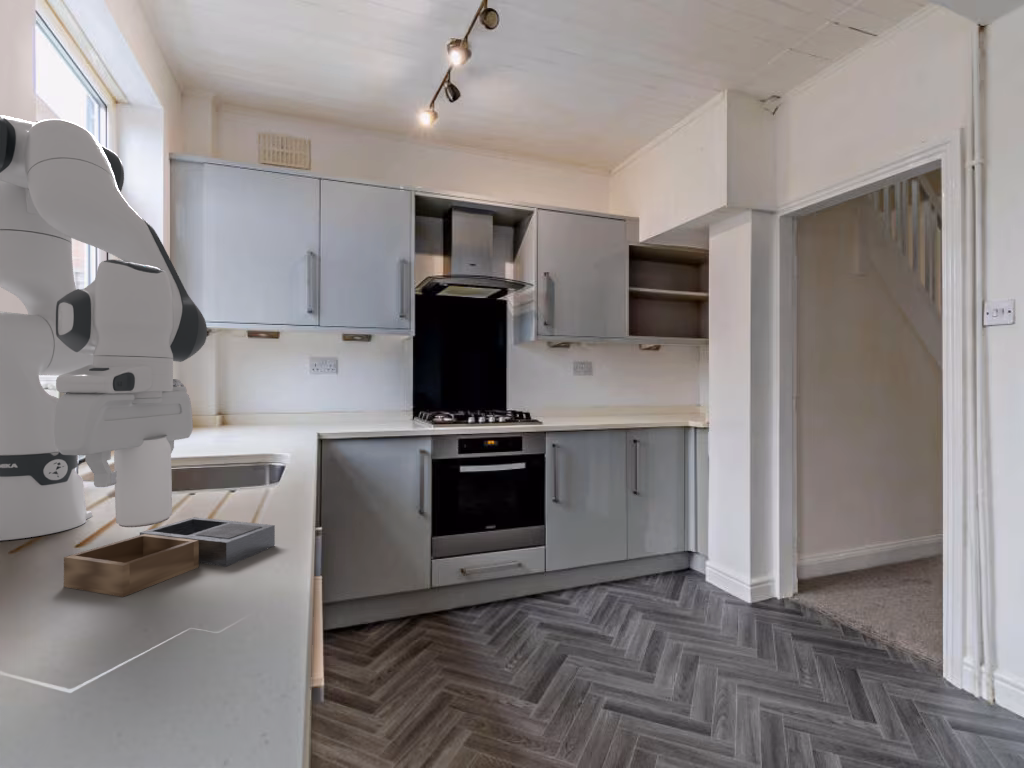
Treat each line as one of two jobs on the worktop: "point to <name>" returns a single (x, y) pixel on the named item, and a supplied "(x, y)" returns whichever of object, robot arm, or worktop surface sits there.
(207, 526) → the tray
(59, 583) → the worktop surface
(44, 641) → the worktop surface
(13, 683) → the worktop surface
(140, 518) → the can
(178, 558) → the box
